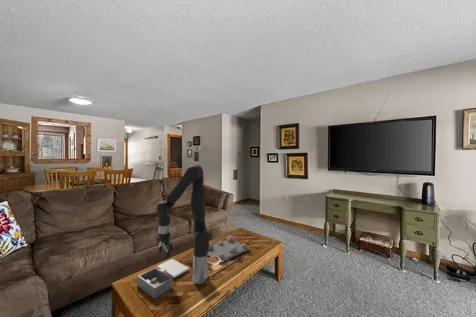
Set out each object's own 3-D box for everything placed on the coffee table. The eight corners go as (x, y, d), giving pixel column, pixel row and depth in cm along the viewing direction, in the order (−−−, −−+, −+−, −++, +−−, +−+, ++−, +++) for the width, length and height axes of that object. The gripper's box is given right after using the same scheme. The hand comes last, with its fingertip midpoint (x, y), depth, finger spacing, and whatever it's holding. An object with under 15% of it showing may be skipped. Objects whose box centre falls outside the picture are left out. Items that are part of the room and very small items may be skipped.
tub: (155, 276, 134) (155, 267, 134) (172, 287, 124) (172, 278, 124) (137, 285, 125) (137, 275, 124) (154, 298, 114) (154, 288, 114)
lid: (171, 261, 153) (172, 256, 153) (188, 270, 142) (189, 265, 142) (151, 271, 139) (151, 265, 139) (168, 282, 129) (169, 276, 128)
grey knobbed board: (219, 265, 152) (220, 252, 151) (199, 252, 170) (200, 240, 169) (250, 251, 176) (251, 239, 176) (230, 240, 195) (230, 230, 194)
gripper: (175, 232, 134) (175, 256, 135) (163, 226, 142) (163, 249, 143) (165, 235, 128) (165, 260, 129) (153, 230, 136) (153, 253, 137)
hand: (164, 254), depth 136 cm, fingers open, 8 cm apart
